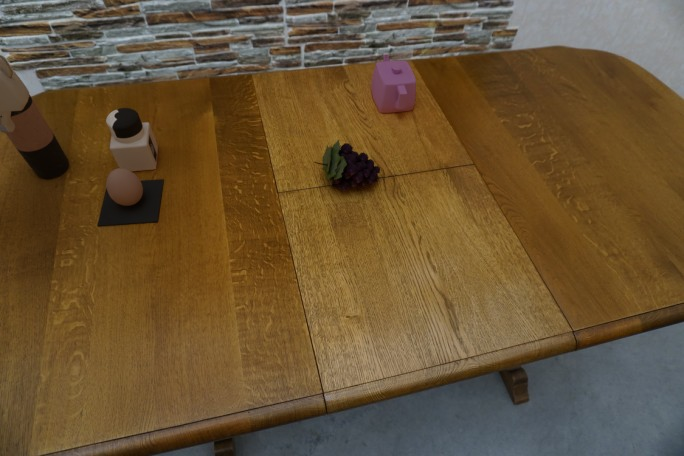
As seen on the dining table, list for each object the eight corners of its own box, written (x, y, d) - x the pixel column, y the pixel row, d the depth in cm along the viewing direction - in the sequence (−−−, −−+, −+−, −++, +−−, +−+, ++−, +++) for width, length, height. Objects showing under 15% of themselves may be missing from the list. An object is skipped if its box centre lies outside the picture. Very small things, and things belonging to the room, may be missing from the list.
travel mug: (35, 184, 101) (-18, 111, 85) (33, 161, 105) (-18, 87, 89) (72, 174, 103) (27, 101, 87) (69, 152, 107) (25, 78, 91)
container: (158, 146, 110) (141, 102, 99) (156, 170, 105) (138, 125, 95) (124, 149, 109) (104, 104, 98) (121, 173, 104) (99, 128, 94)
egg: (113, 215, 96) (97, 185, 89) (116, 191, 100) (101, 161, 93) (146, 211, 97) (133, 181, 90) (148, 188, 101) (135, 158, 94)
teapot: (365, 80, 129) (368, 46, 121) (401, 77, 130) (406, 44, 122) (380, 122, 118) (384, 89, 110) (419, 118, 120) (426, 85, 112)
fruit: (372, 202, 106) (309, 194, 102) (369, 164, 111) (309, 155, 107) (389, 178, 97) (321, 168, 93) (385, 138, 102) (320, 127, 98)
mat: (97, 226, 95) (97, 225, 95) (108, 183, 102) (107, 182, 102) (157, 222, 96) (157, 221, 96) (163, 180, 103) (163, 179, 103)
